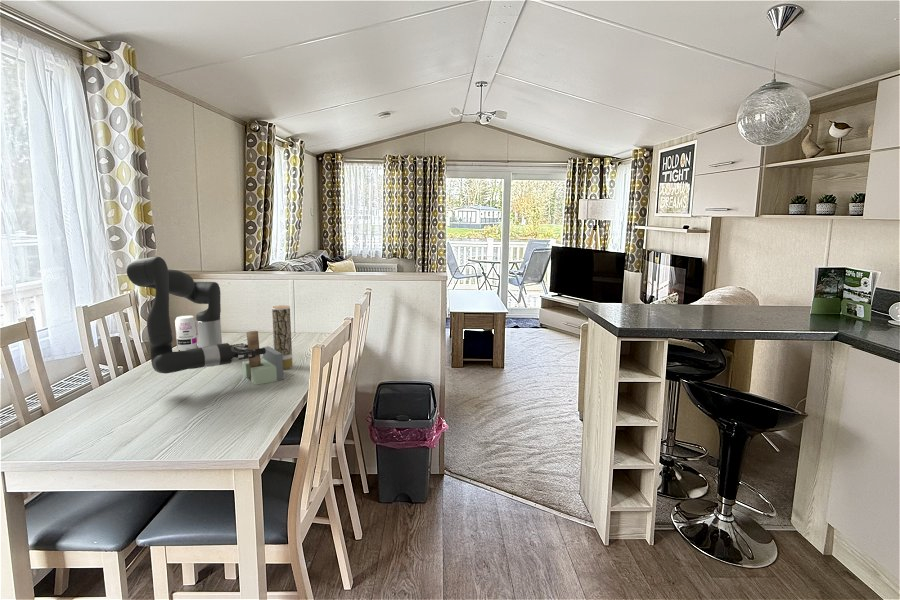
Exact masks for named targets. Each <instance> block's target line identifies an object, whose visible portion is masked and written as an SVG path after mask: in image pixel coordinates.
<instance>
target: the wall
mask: <svg viewBox="0 0 900 600" xmlns="http://www.w3.org/2000/svg"><path fill="white" fill-rule="evenodd" d="M261 348H265V349H266V353H265V354H262V358H263V359H265V360H266V361H268V362H270V363H271V364H273V365H274V366H276V372H277V381H282V380H283V381H284V369H283V359H282V353H280V352H278V351H276V350H275V349H274V347H271V346H269V345H268V346H263V347H261ZM277 381H276V382H277Z"/></svg>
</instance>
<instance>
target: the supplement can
mask: <svg viewBox="0 0 900 600" xmlns="http://www.w3.org/2000/svg"><path fill="white" fill-rule="evenodd" d="M174 324H175V339H176V349H177V350H178V351H179V350H180V351H186V350H189V349H194V348H198V336H197V322H196V318H195V317H194V315H179V316H176V318H175V320H174Z"/></svg>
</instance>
